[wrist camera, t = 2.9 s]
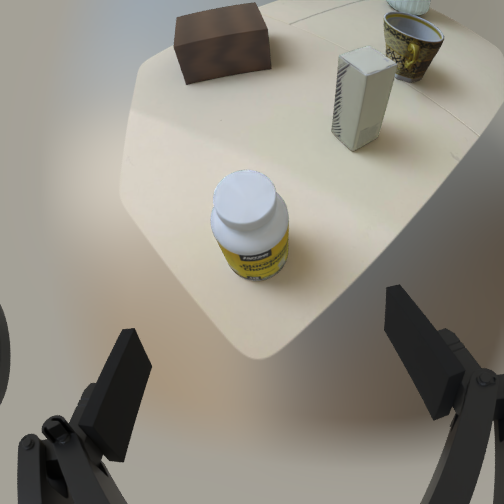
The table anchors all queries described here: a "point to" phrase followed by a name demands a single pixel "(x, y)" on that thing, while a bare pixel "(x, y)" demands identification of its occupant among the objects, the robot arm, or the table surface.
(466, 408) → the robot arm
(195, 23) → the wooden block
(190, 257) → the table surface
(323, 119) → the table surface
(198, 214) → the table surface
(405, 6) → the vase
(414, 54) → the ceramic cup
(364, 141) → the box
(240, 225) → the pill bottle
